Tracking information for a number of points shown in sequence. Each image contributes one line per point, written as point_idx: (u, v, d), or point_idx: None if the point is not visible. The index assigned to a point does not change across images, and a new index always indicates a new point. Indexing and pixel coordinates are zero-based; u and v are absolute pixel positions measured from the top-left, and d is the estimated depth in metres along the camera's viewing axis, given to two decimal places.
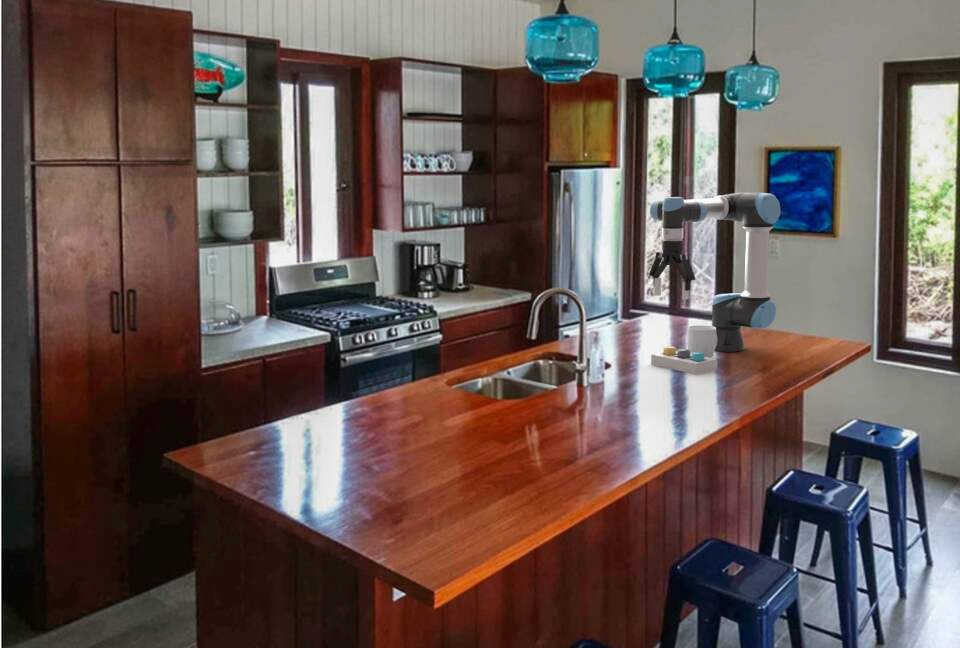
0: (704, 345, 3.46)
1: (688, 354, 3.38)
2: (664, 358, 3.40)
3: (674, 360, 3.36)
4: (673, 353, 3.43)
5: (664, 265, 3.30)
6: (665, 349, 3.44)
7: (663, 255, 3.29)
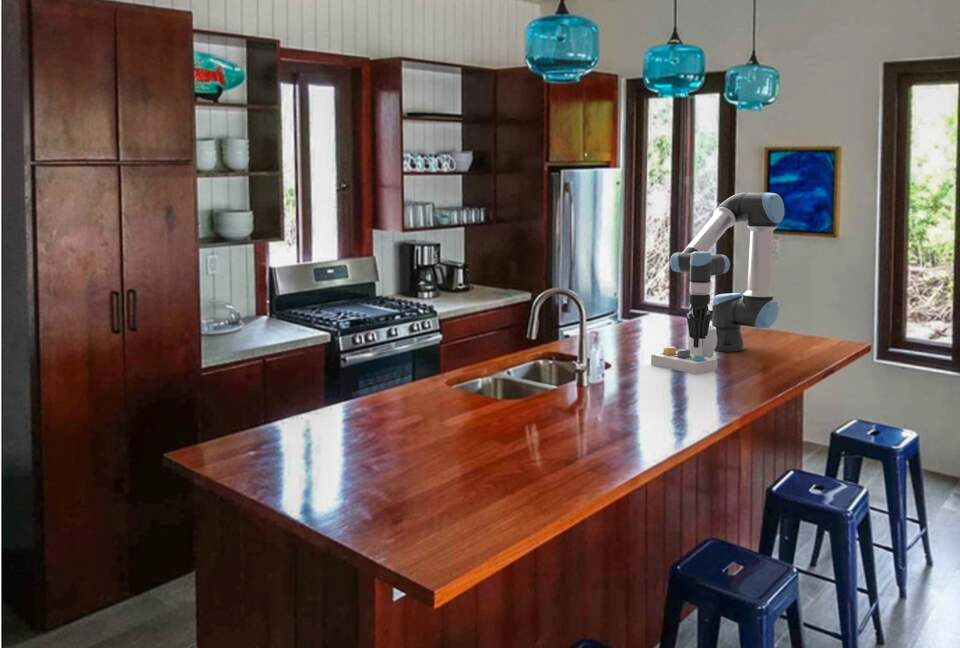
0: (704, 345, 3.46)
1: (688, 354, 3.38)
2: (664, 358, 3.40)
3: (674, 360, 3.36)
4: (673, 353, 3.43)
5: None
6: (665, 349, 3.44)
7: None
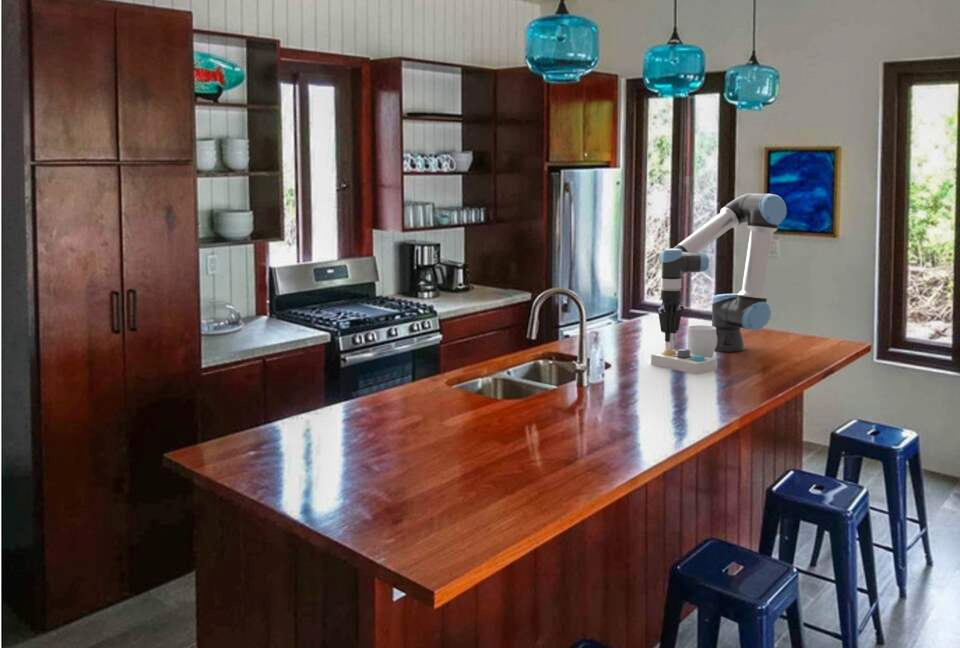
0: (704, 345, 3.46)
1: (688, 354, 3.38)
2: (664, 358, 3.40)
3: (674, 360, 3.36)
4: None
5: None
6: (665, 352, 3.44)
7: None
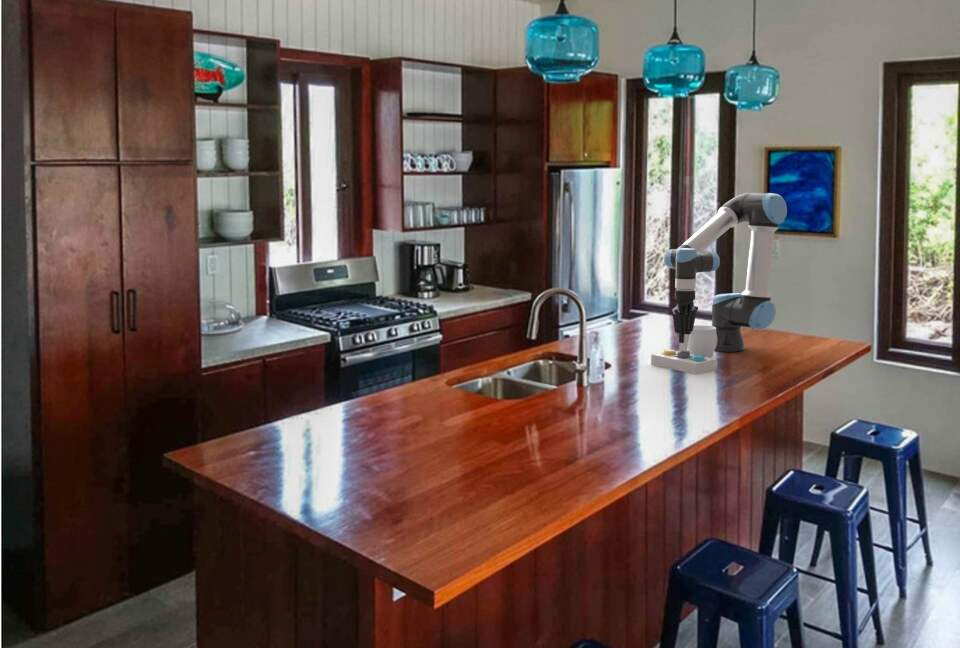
0: (704, 345, 3.46)
1: (688, 355, 3.38)
2: (664, 358, 3.40)
3: (674, 360, 3.36)
4: None
5: None
6: (665, 352, 3.44)
7: None
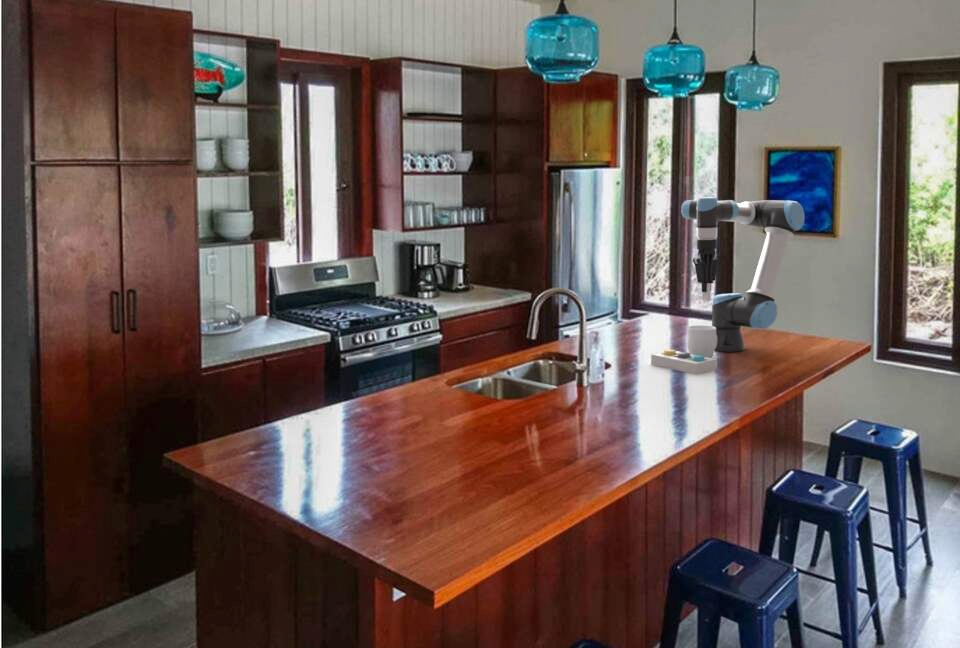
0: (704, 345, 3.46)
1: (688, 357, 3.38)
2: (664, 358, 3.40)
3: (674, 360, 3.36)
4: None
5: None
6: (665, 352, 3.44)
7: None
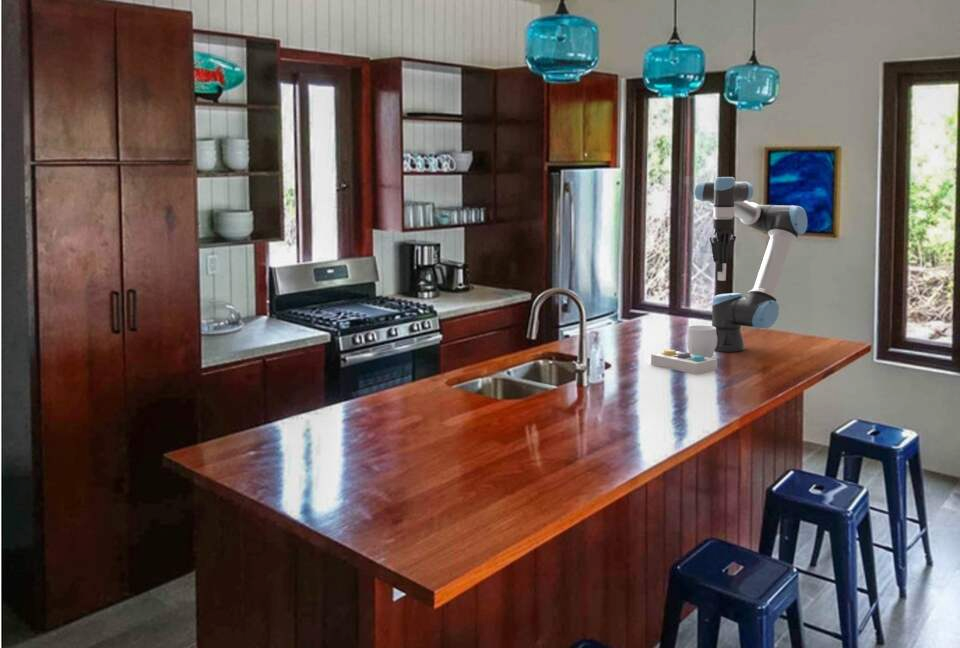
0: (704, 345, 3.46)
1: (688, 357, 3.38)
2: (664, 358, 3.40)
3: (674, 360, 3.36)
4: None
5: None
6: (665, 352, 3.44)
7: None
